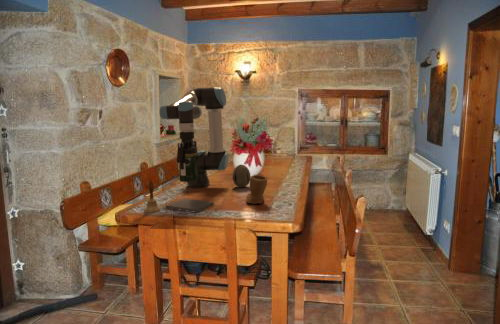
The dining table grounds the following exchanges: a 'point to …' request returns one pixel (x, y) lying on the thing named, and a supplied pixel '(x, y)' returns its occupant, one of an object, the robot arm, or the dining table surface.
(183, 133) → the robot arm
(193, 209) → the plate
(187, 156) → the coffee jar
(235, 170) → the decorative egg
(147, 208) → the hand bell
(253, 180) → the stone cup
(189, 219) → the dining table surface
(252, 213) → the dining table surface
